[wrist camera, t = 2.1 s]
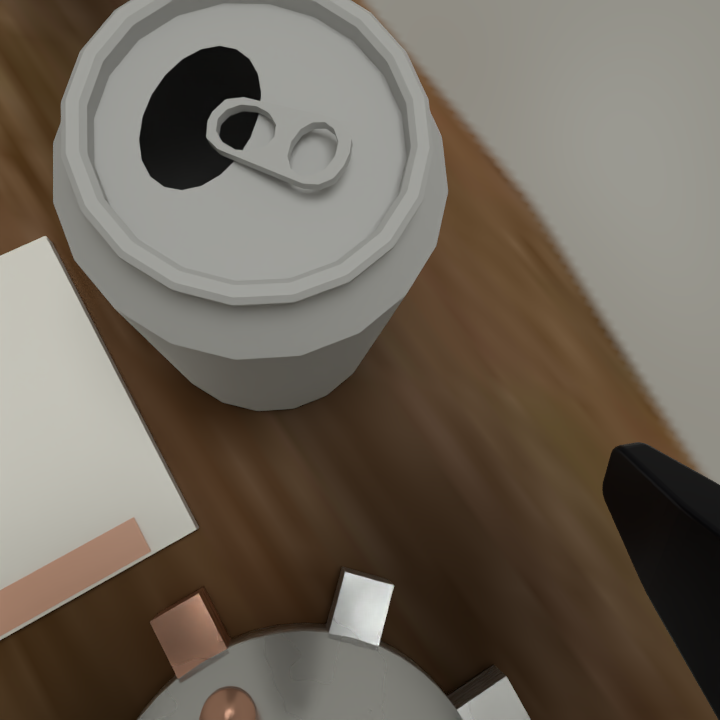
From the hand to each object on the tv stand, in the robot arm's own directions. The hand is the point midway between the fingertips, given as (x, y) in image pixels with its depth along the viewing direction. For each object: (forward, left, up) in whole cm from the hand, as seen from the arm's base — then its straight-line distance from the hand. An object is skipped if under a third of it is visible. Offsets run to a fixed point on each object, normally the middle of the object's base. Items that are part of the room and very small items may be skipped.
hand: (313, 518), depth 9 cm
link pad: (+6, +9, -12) cm, 16 cm away
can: (+6, -2, -13) cm, 14 cm away
